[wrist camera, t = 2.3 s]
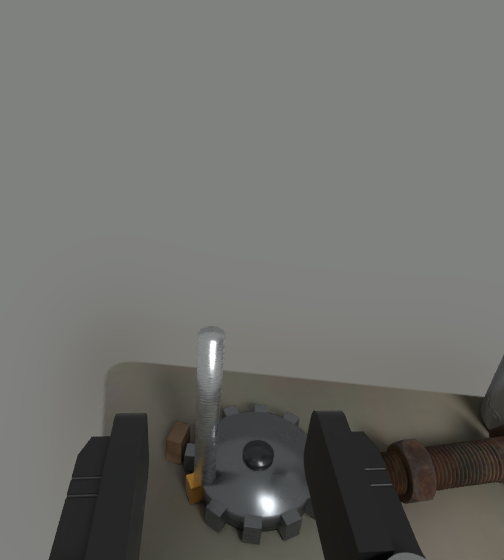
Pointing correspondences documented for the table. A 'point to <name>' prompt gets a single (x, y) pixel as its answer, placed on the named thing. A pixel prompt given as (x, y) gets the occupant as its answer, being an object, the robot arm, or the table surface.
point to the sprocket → (244, 457)
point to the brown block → (177, 442)
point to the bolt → (443, 465)
